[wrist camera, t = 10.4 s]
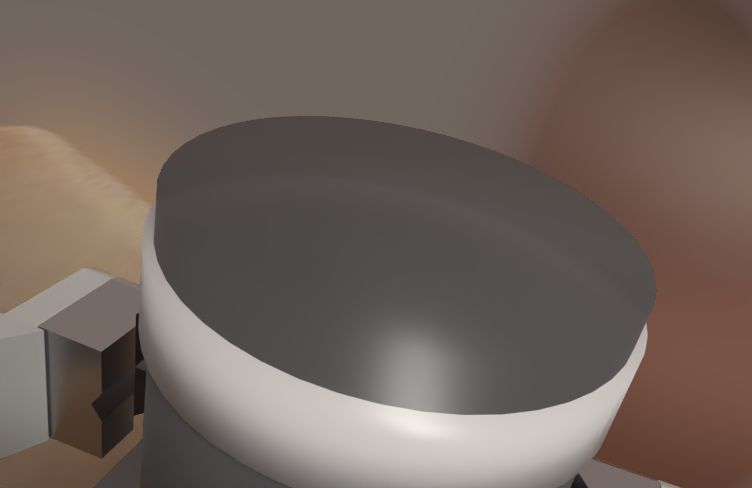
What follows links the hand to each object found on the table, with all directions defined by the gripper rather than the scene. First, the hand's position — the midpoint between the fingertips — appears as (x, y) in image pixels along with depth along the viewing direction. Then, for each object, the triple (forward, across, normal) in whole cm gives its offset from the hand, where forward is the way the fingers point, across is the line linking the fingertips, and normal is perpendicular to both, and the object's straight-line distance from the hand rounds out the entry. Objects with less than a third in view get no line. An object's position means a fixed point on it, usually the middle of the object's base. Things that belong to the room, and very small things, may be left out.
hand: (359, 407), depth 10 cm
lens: (-1, 0, +6) cm, 6 cm away
